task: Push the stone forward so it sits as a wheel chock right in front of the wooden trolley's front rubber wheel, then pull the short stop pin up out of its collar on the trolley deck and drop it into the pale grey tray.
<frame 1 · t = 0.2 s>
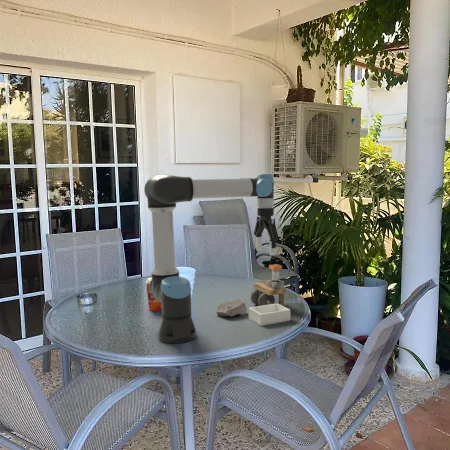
hand: (265, 252, 206), 28 cm above the table, fingers open, 13 cm apart
stone: (231, 315, 204), on the table
tray: (269, 319, 196), on the table
stop pin: (275, 287, 211), point 10 cm above the table, touching trolley
coffee cup: (155, 309, 215), on the table
trolley: (269, 306, 215), on the table
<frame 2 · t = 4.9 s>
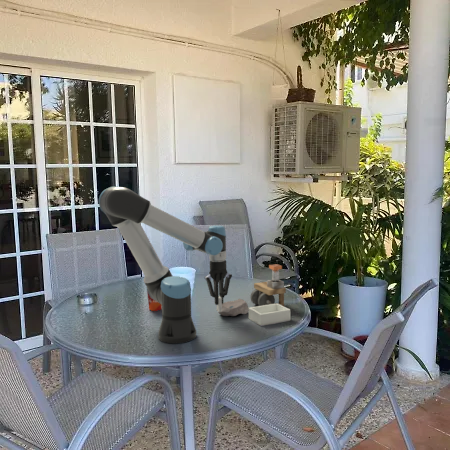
hand: (219, 311, 201), 3 cm above the table, fingers closed
stone: (233, 315, 204), on the table, touching gripper
everything else where it was.
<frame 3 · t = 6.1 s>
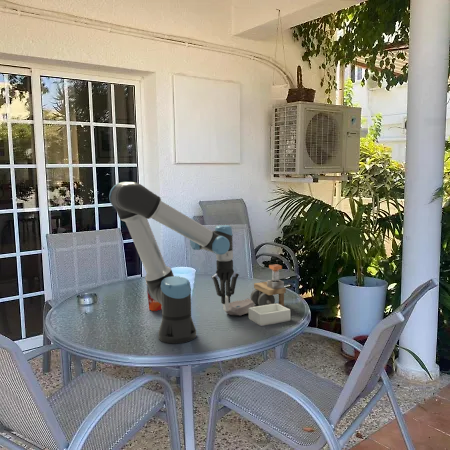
hand: (226, 310, 202), 3 cm above the table, fingers closed
stone: (240, 314, 205), on the table, touching gripper
everything else where it was.
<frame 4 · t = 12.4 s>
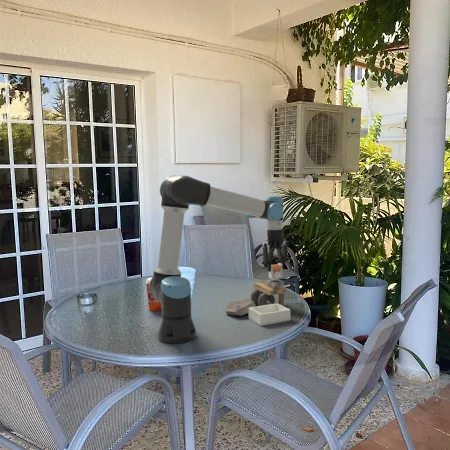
hand: (275, 277, 210), 15 cm above the table, fingers closed on stop pin, 4 cm apart
stone: (240, 314, 205), on the table
stop pin: (275, 287, 211), point 10 cm above the table, touching gripper, trolley
everything else where it was.
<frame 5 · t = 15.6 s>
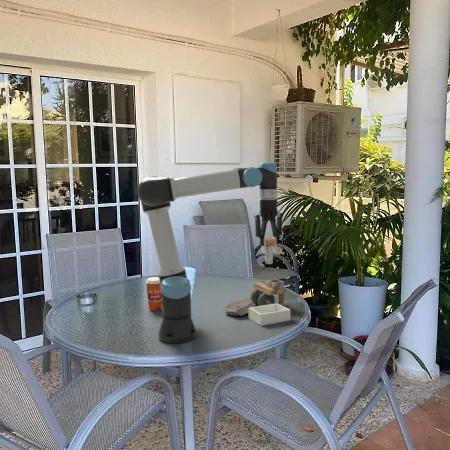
hand: (269, 252, 192), 30 cm above the table, fingers closed on stop pin, 4 cm apart
stop pin: (269, 263, 193), point 25 cm above the table, touching gripper
everything else where it was.
when the fingers open (8 cm above the table, at t = 19.1 s): stop pin drops 2 cm, resting on tray.
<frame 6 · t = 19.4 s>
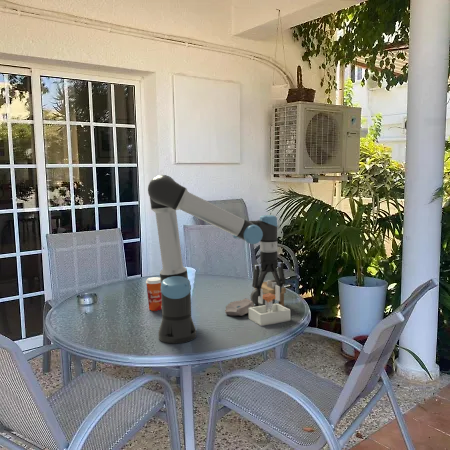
hand: (269, 301, 195), 8 cm above the table, fingers open, 8 cm apart
stop pin: (269, 318, 196), point 1 cm above the table, touching tray
everything else where it was.
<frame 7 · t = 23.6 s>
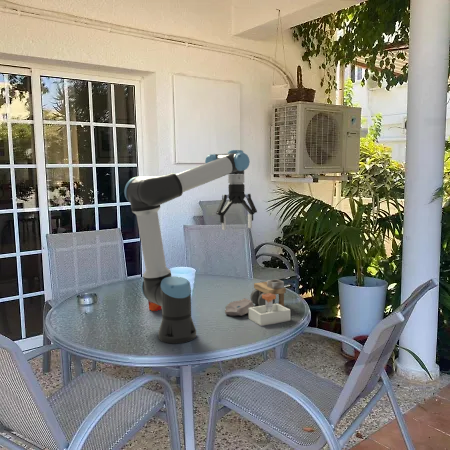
hand: (237, 228, 208), 39 cm above the table, fingers open, 13 cm apart
nothing on the table moved.
at the end: stone inside the target area (2.5 cm from its centre), on the table; stone moved 4.0 cm from its start; stop pin inside the target area on the tray (0.1 cm from its centre), point 0.6 cm above the tray's base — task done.
